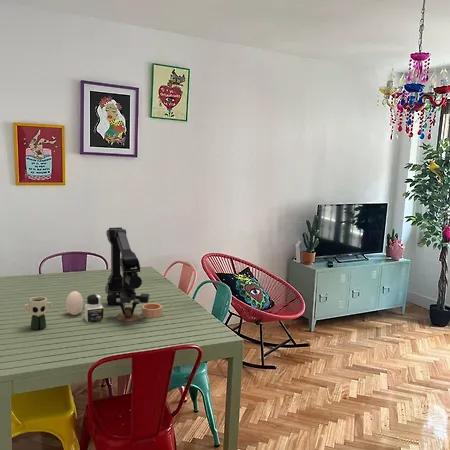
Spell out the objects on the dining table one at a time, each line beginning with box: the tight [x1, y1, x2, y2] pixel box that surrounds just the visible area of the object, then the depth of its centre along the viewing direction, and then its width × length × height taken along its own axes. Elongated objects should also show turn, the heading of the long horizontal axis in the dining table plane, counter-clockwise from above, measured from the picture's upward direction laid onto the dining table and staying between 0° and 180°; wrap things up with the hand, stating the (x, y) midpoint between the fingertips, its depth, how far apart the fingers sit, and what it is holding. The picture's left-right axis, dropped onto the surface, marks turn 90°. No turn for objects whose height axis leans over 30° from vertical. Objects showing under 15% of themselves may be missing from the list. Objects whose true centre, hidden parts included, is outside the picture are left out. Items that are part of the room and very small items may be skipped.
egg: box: [65, 290, 84, 316], centre depth 215 cm, size 8×8×11 cm
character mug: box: [23, 296, 53, 330], centre depth 197 cm, size 11×7×13 cm, turn 119°
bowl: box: [140, 302, 163, 319], centre depth 219 cm, size 10×10×4 cm
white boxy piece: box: [84, 294, 105, 324], centre depth 208 cm, size 7×7×12 cm
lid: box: [116, 306, 140, 322], centre depth 212 cm, size 10×10×5 cm
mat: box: [113, 314, 143, 325], centre depth 212 cm, size 11×11×1 cm
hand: (128, 315), depth 212 cm, fingers closed on lid, 3 cm apart
